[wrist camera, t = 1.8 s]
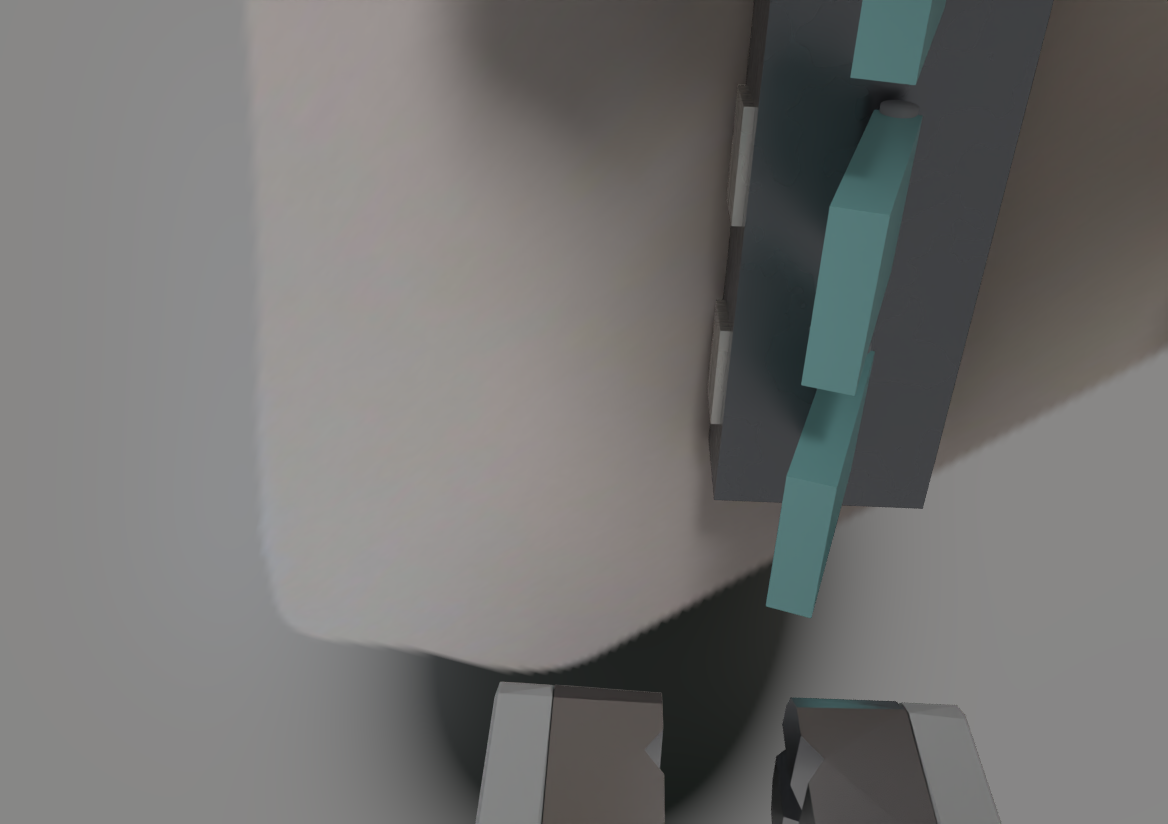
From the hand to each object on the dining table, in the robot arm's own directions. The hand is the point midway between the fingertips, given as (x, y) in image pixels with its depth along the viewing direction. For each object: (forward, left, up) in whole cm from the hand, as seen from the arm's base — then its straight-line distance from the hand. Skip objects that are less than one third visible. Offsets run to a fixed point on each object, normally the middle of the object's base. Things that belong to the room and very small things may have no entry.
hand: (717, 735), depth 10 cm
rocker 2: (+4, +7, -24) cm, 25 cm away
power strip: (+4, +7, -29) cm, 30 cm away
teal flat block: (+12, +7, -24) cm, 28 cm away
